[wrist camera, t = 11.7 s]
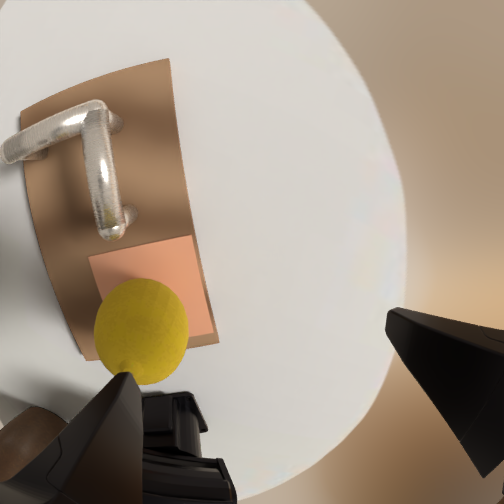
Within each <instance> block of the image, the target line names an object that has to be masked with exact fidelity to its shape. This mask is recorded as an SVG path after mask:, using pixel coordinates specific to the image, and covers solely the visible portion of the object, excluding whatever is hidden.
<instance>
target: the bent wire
mask: <svg viewBox="0 0 504 504" xmlns="http://www.w3.org/2000/svg"><path fill="white" fill-rule="evenodd" d="M123 126H124V122H123V119H122V118H121V117H119V116H118V115H116V114H115V113H113V112H111V111H110V110H108V107H107V105H106V103H104V102H103V101H101V100H98V99H95V100H91V101H88V102H85V103H82V104H80V105H77V106H75V107H72V108H70V109H67V110H65V111H62V112H60V113H58V114H55V115H53V116H51V117H49V118H46V119H44V120H42V121H40V122H38V123H36V124H34V125H32V126H30V127H28V128H26V129H24V130H22V131H20V132H18V133H17V134H15V135H13V136H11V137H9V138H8V139H6V140H5V141H4V142H3V144H2V146H1V148H0V157H1V159H2V161H3V162H4V163H6V164H12V163H14V162H16V161H18V160H43V159H45V158H46V157H47V155H48V152H49V148H48V146H51V145H53V144H56V143H58V142H60V141H63V140H66V139H68V138H71V137H73V136H76V135H79V134H81V140H82V149H83V156H84V164H85V170H86V177H87V182H88V188H89V193H90V199H91V204H92V208H93V213H94V217H95V222H96V226H97V230H98V233H99V235H100V236H101V237H102V238H103V239H104V240H107V241H116V240H118V239H120V238H121V237H122V236H123V235H124V233H125V231H126V228H127V227H128V226H129V225H130V224H132V223H133V222H134V221H135V220H136V219H137V217H138V210H137V208H136V207H135V206H134V205H131V204H128V205H125V206H122V201H121V196H120V191H119V185H118V180H117V174H116V168H115V161H114V154H113V147H112V139H111V134H117V133H119V132H120V131H121V130H122V128H123Z"/></svg>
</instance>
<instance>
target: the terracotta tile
mask: <svg viewBox="0 0 504 504" xmlns="http://www.w3.org/2000/svg"><path fill="white" fill-rule="evenodd" d="M88 259H89V262H90V265H91V268H92V272H93V275H94V278H95V281H96V284H97V287H98V290H99V292H100V295H101V298H102V301H103V300H104V299H105V297H106V296H107V295H108V294H109V293H110V292H111V291H112V290H113V289H114V288H115V287H116V286H118V285H119V284H121V283H124V282H126V281H128V280H131V279H138V278H145V279H152V280H155V281H158V282H161V283H162V284H164V285H166V286H167V287H169V288H170V289H171V290H172V291H173V292H174V293H175V294H176V295H177V296H178V298H179V299H180V301H181V302H182V304H183V306H184V309H185V312H186V315H187V318H188V328H189V337H193V336H198V335H204V334H209V333H214V330H213V326H212V322H211V318H210V314H209V310H208V306H207V302H206V298H205V294H204V289H203V285H202V281H201V276H200V272H199V267H198V263H197V258H196V253H195V249H194V244H193V239H192V234H190V235H185V236H180V237H175V238H171V239H166V240H161V241H156V242H151V243H146V244H142V245H137V246H132V247H128V248H123V249H119V250H114V251H110V252H105V253H101V254H96V255H92V256H89V257H88Z"/></svg>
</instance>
